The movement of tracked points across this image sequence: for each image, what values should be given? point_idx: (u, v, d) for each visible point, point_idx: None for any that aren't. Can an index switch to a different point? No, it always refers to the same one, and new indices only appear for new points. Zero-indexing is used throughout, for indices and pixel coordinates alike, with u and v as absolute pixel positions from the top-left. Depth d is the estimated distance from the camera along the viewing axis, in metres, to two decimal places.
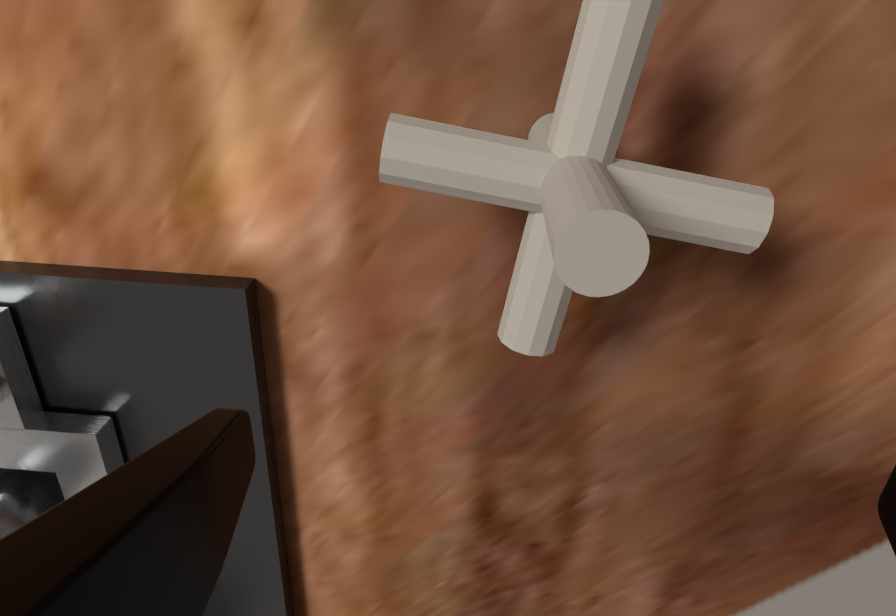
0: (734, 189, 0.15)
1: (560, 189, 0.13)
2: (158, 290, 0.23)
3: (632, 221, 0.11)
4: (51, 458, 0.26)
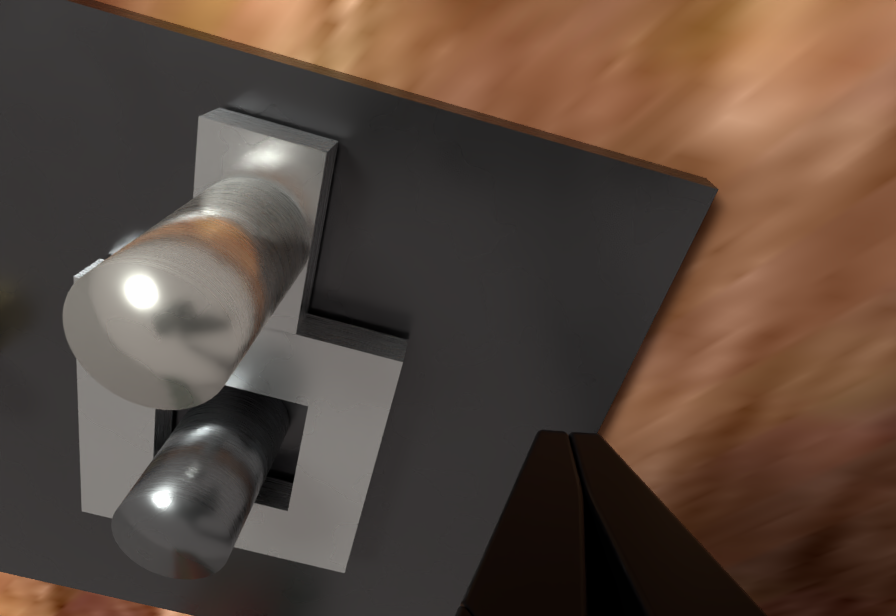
0: None
1: None
2: (586, 163, 0.15)
3: None
4: (313, 384, 0.17)
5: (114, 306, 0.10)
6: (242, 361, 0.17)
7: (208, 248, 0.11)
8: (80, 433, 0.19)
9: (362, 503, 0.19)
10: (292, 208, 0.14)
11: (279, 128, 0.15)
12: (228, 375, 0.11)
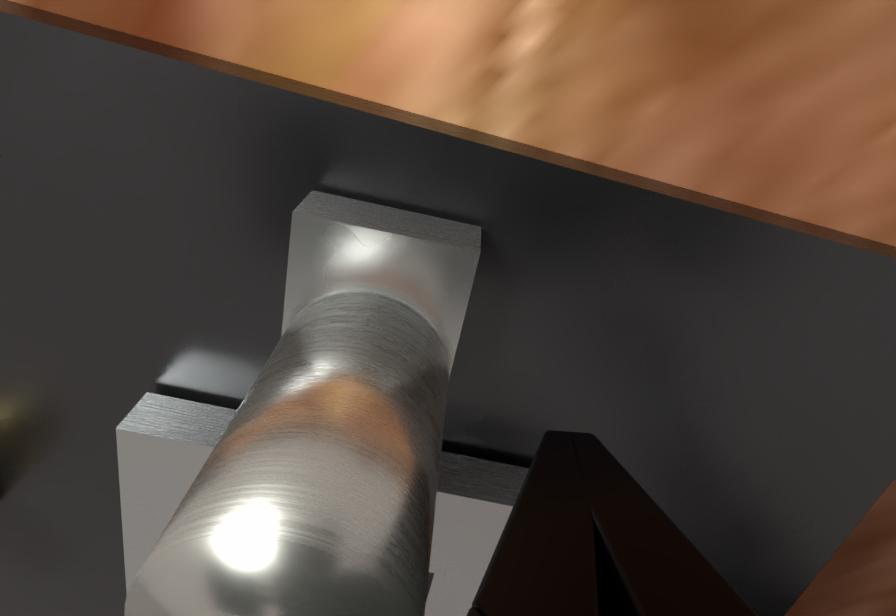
0: None
1: None
2: (855, 265, 0.11)
3: None
4: (443, 548, 0.13)
5: (214, 598, 0.06)
6: None
7: (357, 462, 0.07)
8: None
9: None
10: (429, 332, 0.10)
11: (401, 217, 0.10)
12: None
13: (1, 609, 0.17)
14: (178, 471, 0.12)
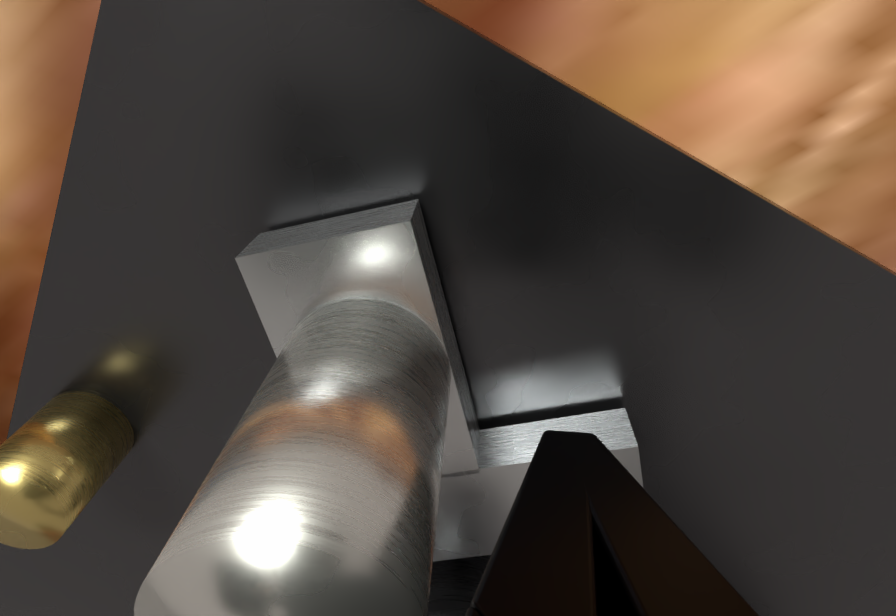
0: None
1: None
2: None
3: None
4: None
5: (205, 615, 0.06)
6: None
7: (304, 451, 0.07)
8: None
9: None
10: (400, 316, 0.10)
11: (339, 222, 0.10)
12: None
13: (80, 561, 0.16)
14: None
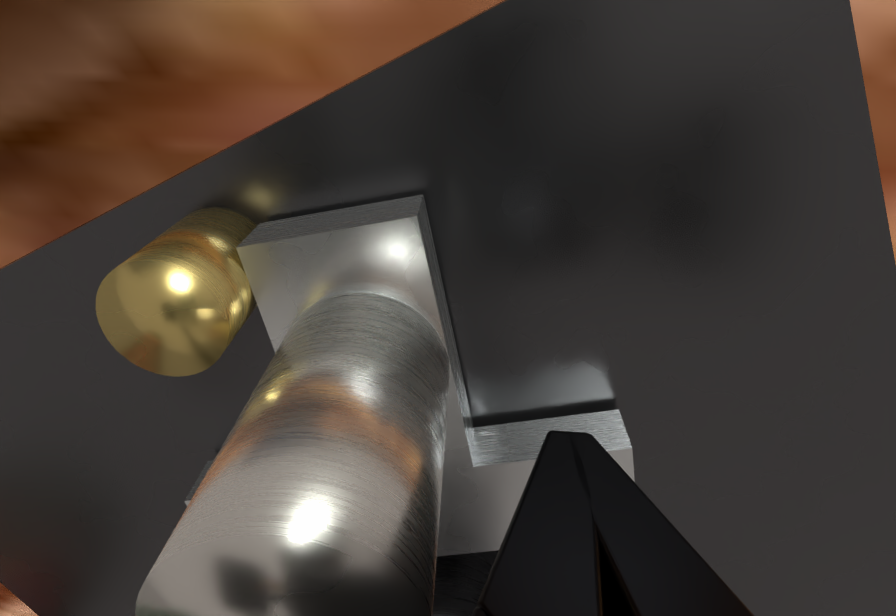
0: None
1: None
2: None
3: None
4: None
5: (209, 611, 0.06)
6: None
7: (313, 447, 0.07)
8: None
9: None
10: (403, 311, 0.10)
11: (342, 214, 0.10)
12: None
13: (68, 370, 0.13)
14: None
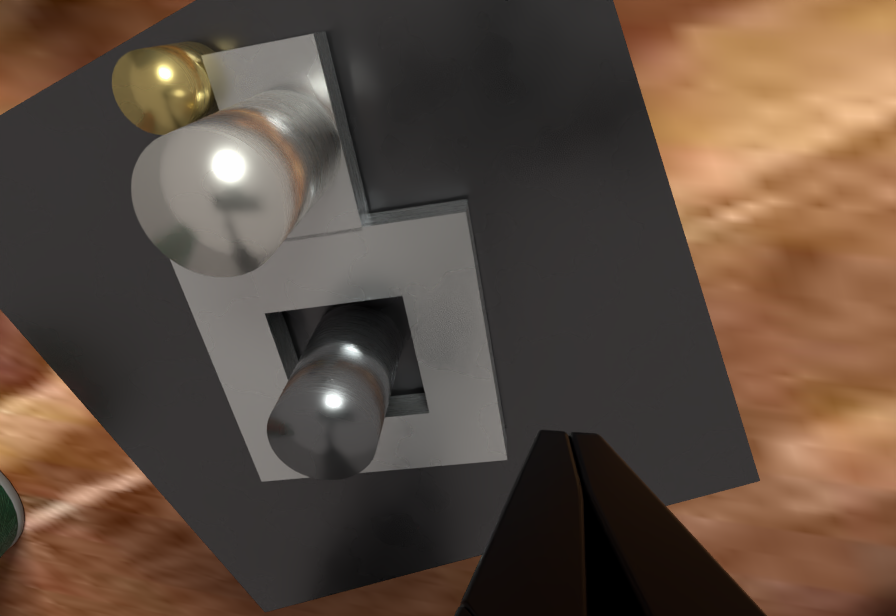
0: None
1: None
2: (730, 414, 0.21)
3: None
4: (398, 271, 0.18)
5: (169, 186, 0.12)
6: (329, 275, 0.18)
7: (228, 117, 0.12)
8: (231, 404, 0.20)
9: (492, 377, 0.19)
10: (306, 100, 0.15)
11: (271, 41, 0.16)
12: (282, 210, 0.12)
13: (91, 167, 0.18)
14: None
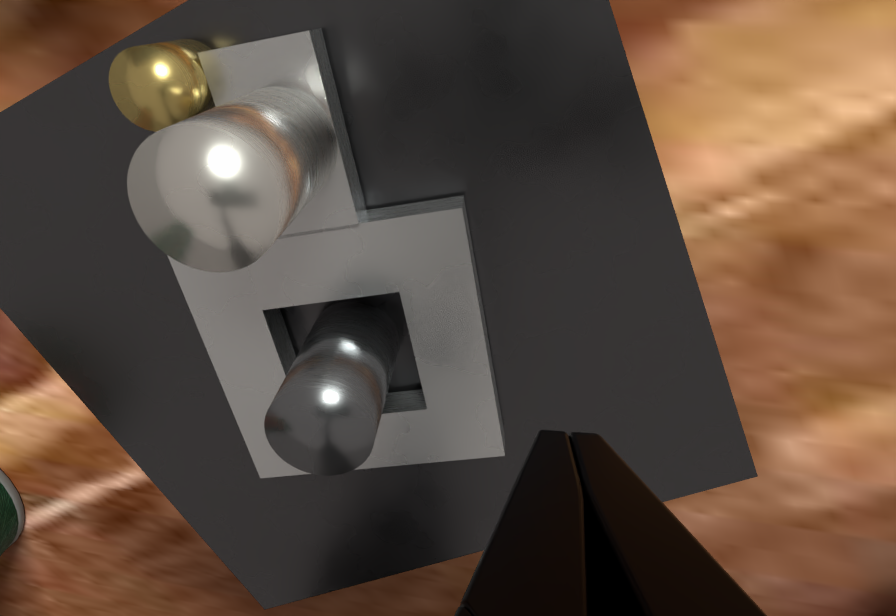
0: None
1: None
2: (727, 410, 0.21)
3: None
4: (394, 267, 0.18)
5: (165, 181, 0.12)
6: (326, 271, 0.18)
7: (223, 113, 0.12)
8: (229, 401, 0.21)
9: (489, 373, 0.19)
10: (302, 96, 0.15)
11: (268, 38, 0.16)
12: (277, 205, 0.12)
13: (89, 165, 0.18)
14: None
